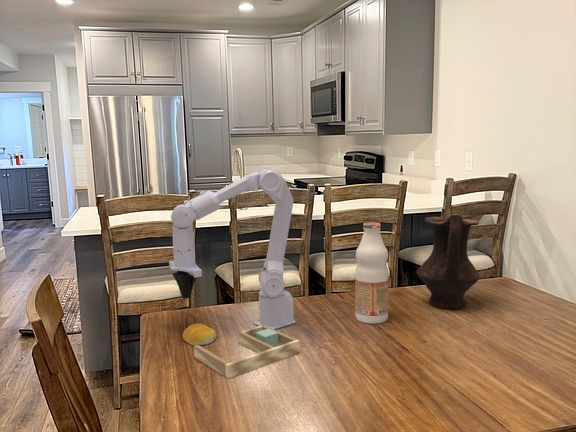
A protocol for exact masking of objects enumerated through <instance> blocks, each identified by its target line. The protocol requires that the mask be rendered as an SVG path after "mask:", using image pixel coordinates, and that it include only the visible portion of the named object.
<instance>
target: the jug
mask: <svg viewBox="0 0 576 432" xmlns="http://www.w3.org/2000/svg"><path fill="white" fill-rule="evenodd" d="M424 221H425V222H426V223H427V224H430V225H431V226H432V227H431V228H432V237H433V242H432V244H433V245H432V246H433V247H432V248H433V249H432V251H431V253H430V255H429V256H428V257H427V258H426V260H425V261H424V262H423V263H421V265H420V266H419V268H418V269H417V270H416V275H417V277H418V278H419V279H420V280H421V281H422V283H423V284H424V285H425V286H426V288H427V289H428V291H429V292H430V294H431V296H430V298H429V299H428V303H430V305H432V306H435V307H437V308H441V309H447V310H460V309H461V310H462V309H464V308H466V307H467V305H468V302H467V300H466V299H465V298H464V296H465V294H466V293H467V292H468V290H470V289H471V288H472V287H473V286H475V284H477V283H478V281H479V279H480V274H479V272H478V270H477V269H476V267H475V266H474V264H473V262H471V260H470V258H469V255H468V241H469V236H470V235H469V233H470V230H471V227H472V226H478V225H479V224H480V223H479V221H478V220H476V219H471V218H469V219H468V218H463V216H462V214H459V213H452V214H450V216H448V217H447V216H427V217H425V218H424Z"/></svg>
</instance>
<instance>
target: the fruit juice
mask: <svg viewBox="0 0 576 432" xmlns="http://www.w3.org/2000/svg"><path fill="white" fill-rule="evenodd" d="M362 227H363V234H362V237H361V239H360V242H359V244H358V247H357V248H356V251H355V260H356V262H357V263H356V268H355V275H354V277H355V278H354V279H355V281H354V282H355V283H354V285H355V289H354V291H355V292H354V294H355V296H354V297H355V300H354V301H355V302H354V303H355V304H354V305H355V306H354V308H355V310H354V311H355V313H354V314H355V319H356V320H357V321H359V322H361V323H363V324H372V325H373V324H374V325H375V324H383V323H385V322H387V320H388V319H389V269H388V266H387V262H388V260H389V259H388V258H389V251H388V249H387V247H386V246H385V243H384V240H383V237H382V235H381V232H380V231H381V230H382V229H381V228H382V227H381V223H380V222H373V221H371V222H363V225H362Z"/></svg>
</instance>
